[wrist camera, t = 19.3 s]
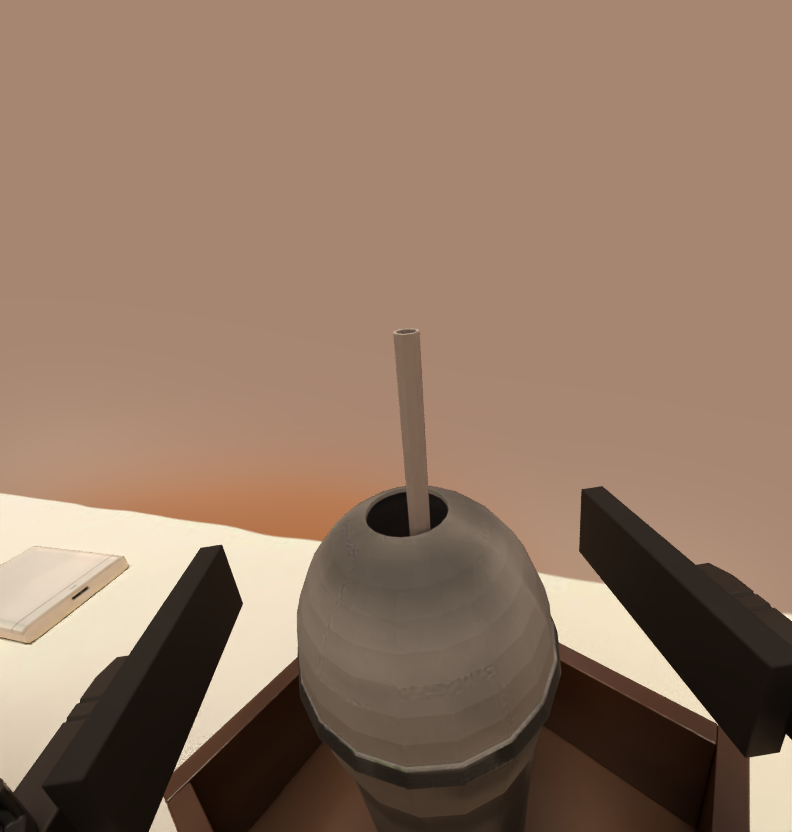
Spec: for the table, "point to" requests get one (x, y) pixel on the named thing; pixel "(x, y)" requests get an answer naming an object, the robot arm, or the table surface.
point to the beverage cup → (428, 647)
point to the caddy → (550, 777)
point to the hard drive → (49, 587)
